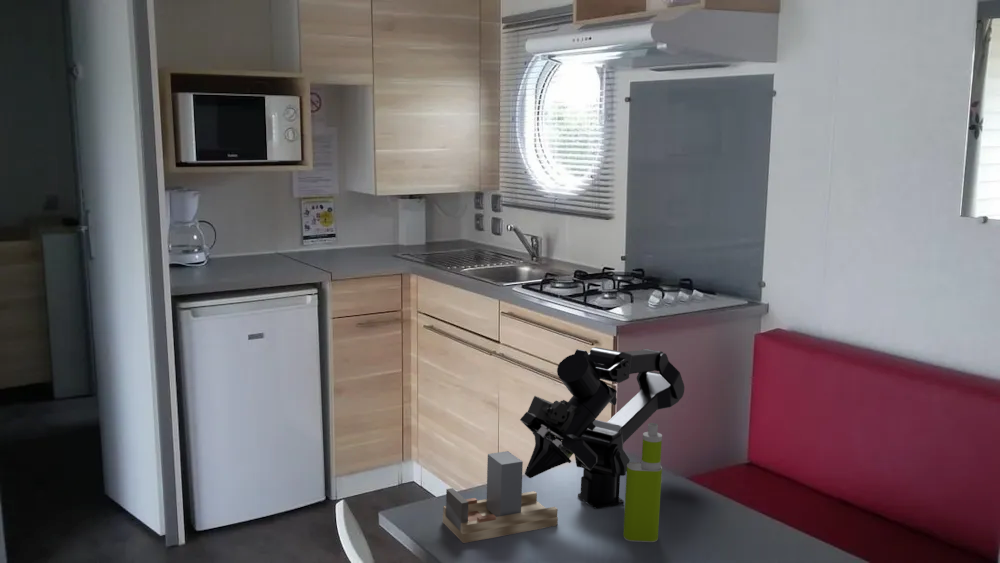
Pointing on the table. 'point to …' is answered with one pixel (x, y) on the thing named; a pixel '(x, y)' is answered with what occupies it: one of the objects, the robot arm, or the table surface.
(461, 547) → the table surface
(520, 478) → the grey rectangular box
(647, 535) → the vape
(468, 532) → the sleeve track
